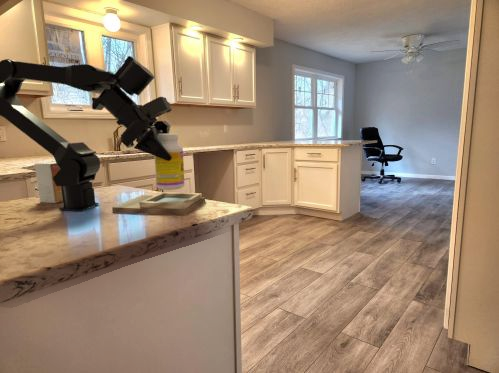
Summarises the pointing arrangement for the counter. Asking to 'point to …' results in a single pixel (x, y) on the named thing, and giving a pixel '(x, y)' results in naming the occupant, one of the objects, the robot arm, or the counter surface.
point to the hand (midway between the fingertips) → (174, 157)
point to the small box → (48, 182)
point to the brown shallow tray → (162, 204)
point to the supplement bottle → (170, 164)
